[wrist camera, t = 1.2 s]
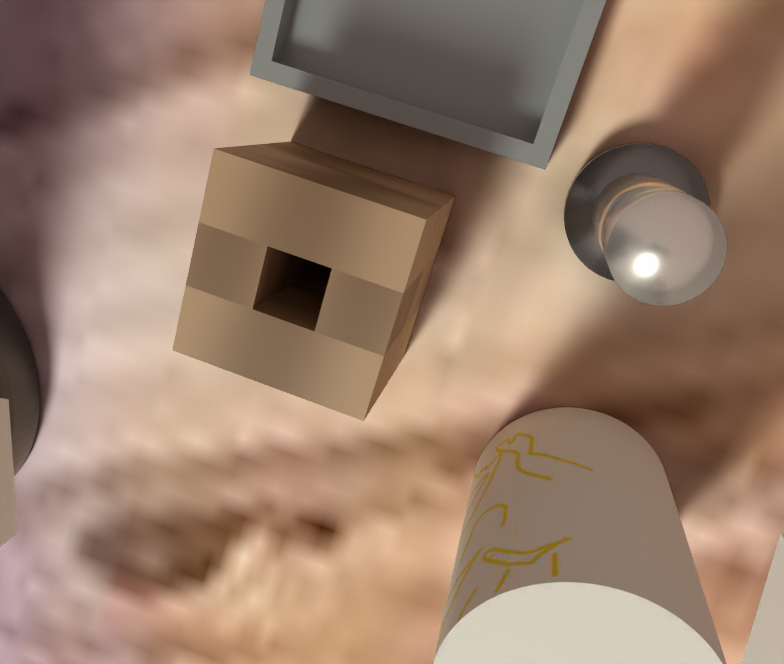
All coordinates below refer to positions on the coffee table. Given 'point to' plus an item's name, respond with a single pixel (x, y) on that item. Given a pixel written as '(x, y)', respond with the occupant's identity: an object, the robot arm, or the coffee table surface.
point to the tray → (438, 63)
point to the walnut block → (309, 272)
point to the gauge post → (646, 224)
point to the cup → (574, 553)
